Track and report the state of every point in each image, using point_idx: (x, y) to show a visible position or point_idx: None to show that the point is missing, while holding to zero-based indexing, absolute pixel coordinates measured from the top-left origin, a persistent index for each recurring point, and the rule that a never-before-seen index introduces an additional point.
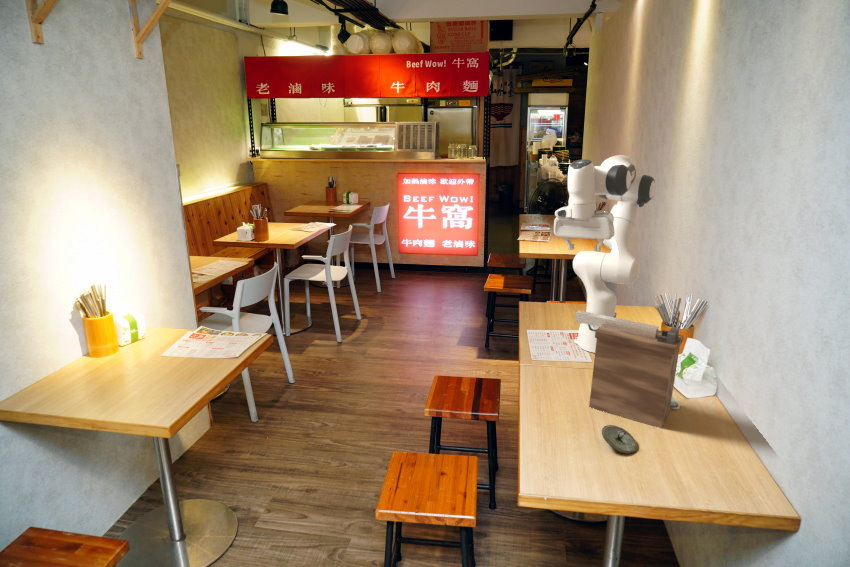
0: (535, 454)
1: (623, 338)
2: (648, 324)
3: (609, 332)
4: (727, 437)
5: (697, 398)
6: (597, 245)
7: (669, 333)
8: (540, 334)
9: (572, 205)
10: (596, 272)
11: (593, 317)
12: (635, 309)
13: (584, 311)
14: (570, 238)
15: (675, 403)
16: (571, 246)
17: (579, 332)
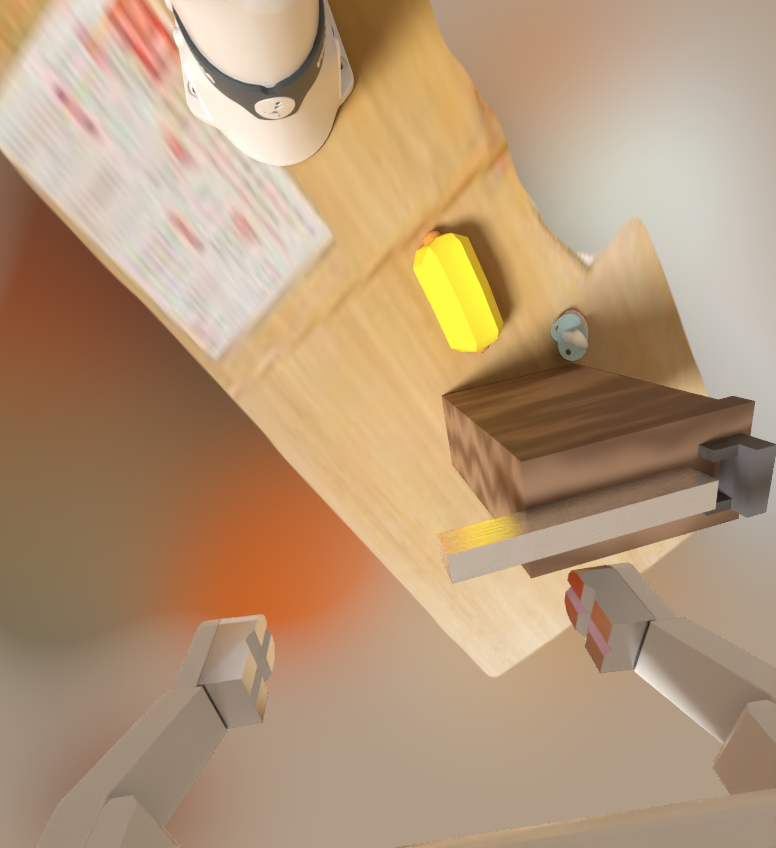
0: (460, 627)
1: (608, 553)
2: (688, 491)
3: (566, 553)
4: (670, 375)
5: (607, 250)
6: (661, 693)
7: (752, 511)
8: (55, 132)
9: None
10: None
11: (516, 562)
12: None
13: (471, 549)
14: (145, 812)
15: (582, 331)
16: (260, 702)
17: (202, 99)
